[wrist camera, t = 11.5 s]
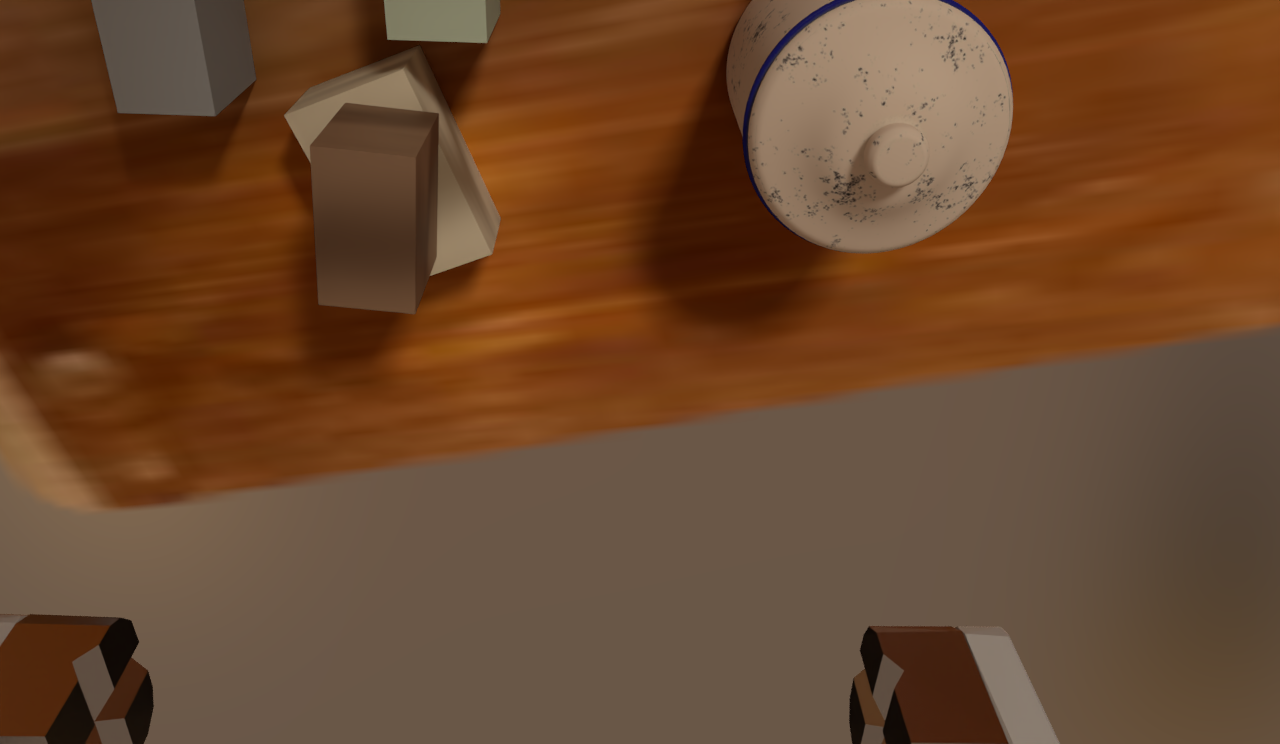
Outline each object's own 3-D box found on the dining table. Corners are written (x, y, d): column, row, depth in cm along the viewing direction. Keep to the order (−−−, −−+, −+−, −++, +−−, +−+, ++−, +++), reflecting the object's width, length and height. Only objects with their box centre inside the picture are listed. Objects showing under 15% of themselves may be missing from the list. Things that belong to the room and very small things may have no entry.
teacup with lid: (934, 158, 43) (1032, 277, 33) (725, 180, 43) (760, 304, 33) (952, -153, 37) (1079, -122, 27) (707, -124, 37) (743, -83, 27)
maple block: (311, 86, 41) (284, 115, 37) (420, 43, 40) (403, 69, 37) (400, 252, 45) (382, 292, 41) (501, 216, 44) (492, 254, 41)
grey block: (136, -85, 37) (75, -66, 33) (231, -82, 37) (183, -61, 33) (169, 76, 40) (117, 112, 36) (256, 78, 40) (215, 116, 36)
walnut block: (345, 102, 37) (309, 145, 33) (438, 113, 37) (415, 157, 33) (350, 247, 40) (318, 304, 36) (436, 256, 40) (415, 314, 36)
